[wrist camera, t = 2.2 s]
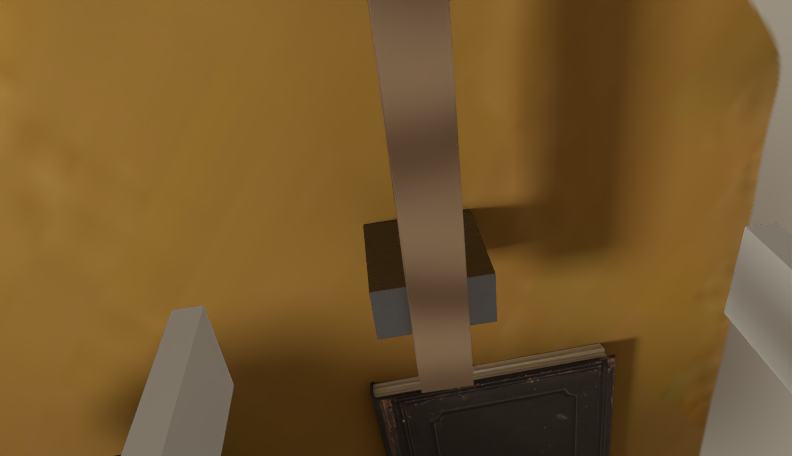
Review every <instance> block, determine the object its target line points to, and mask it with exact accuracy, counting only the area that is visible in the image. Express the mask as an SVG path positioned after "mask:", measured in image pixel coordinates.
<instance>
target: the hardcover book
mask: <svg viewBox="0 0 792 456" xmlns="http://www.w3.org/2000/svg"><path fill="white" fill-rule="evenodd" d="M615 368H616V356H615V354H614V355H609V356H606V354H605V349H604V347H602V346H601V343H598V344H593V345H587V346H582V347H576V348H571V349H565V350H560V351H554V352H549V353H543V354H538V355H532V356H527V357H521V358H516V359H510V360H505V361H499V362H494V363H488V364H482V365H477V366H473V381H474V385H472V386H465V387H459V388H452V389H446V390H439V391H433V392H426V393H422V391H421V385H420V379H419V376H416V377H411V378H405V379H400V380H394V381H389V382H383V383H378V384H374V383H373V382H371V384H370V391H371V396H372V400H373V404H374V408H375V412H376V416H377V420H378V424H379V428H380V431H381V435H382V439H383V443H384V447H385V451H386V455H387V456H610V443H611V428H612V413H613V398H614V383H615Z"/></svg>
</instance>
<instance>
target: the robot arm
mask: <svg viewBox="0 0 792 456" xmlns="http://www.w3.org/2000/svg"><path fill="white" fill-rule="evenodd" d="M724 313H725V315H726V316H727V317H728V318H729V319H730V321H731V322H732V323H733V324H734V325H735V327H736V328H737V329H738V330H739V331H740V333H741V334H742V335H743V336H744V337H745V338H746V340H747V341H748V342H749V343H750V345H751V346H752V347H753V348H754V349H755V351H757V353H758V354H759V355H760V356H761V358H762V359H763V360H764V361H765V363H766V364H767V365H768V366H769V367H770V369H771V370H772V371H773V372H774V373H775V375H776V376H777V377H778V378H779V379H780V380H781V382H782V383H783V384H784V385H785V386H786V388H787V389H788V390H789V391H790V392H791V394H792V235H791V234H790V233H789V232H788V231H787V230H785V229H784V228H783V227H782V226H781V225H780V224H778V223H777V222H774V223H767V224H760V225H753V226H746V227H745V230H744V234H743V238H742V242H741V246H740V250H739V254H738V258H737V263H736V267H735V271H734V275H733V279H732V283H731V287H730V291H729V295H728V299H727V303H726V307H725V311H724ZM233 388H234V384H233V381H232V378H231V376H230V373H229V371H228V368H227V365H226V363H225V360H224V358H223V355H222V352H221V350H220V347H219V344H218V342H217V339H216V337H215V334H214V331H213V329H212V326H211V324H210V321H209V318H208V316H207V313H206V310H205V308H204V306H198V307H191V308H184V309H177V310H172V311H171V314H170V317H169V319H168V322H167V325H166V328H165V331H164V334H163V337H162V339H161V342H160V345H159V348H158V351H157V354H156V357H155V360H154V362H153V365H152V368H151V371H150V374H149V377H148V380H147V382H146V385H145V388H144V391H143V394H142V397H141V400H140V402H139V405H138V408H137V411H136V414H135V417H134V420H133V422H132V425H131V428H130V431H129V434H128V437H127V440H126V442H125V445H124V448H123V451H122V454H121V455H116V456H221V453H222V447H223V442H224V436H225V431H226V426H227V420H228V415H229V410H230V404H231V399H232V393H233Z"/></svg>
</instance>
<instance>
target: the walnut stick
mask: <svg viewBox="0 0 792 456" xmlns="http://www.w3.org/2000/svg"><path fill="white" fill-rule="evenodd" d="M367 1H368V8H369V16H370V23H371V30H372V38H373V45H374V53H375V60H376V67H377V75H378V82H379V90H380V97H381V104H382V112H383V119H384V127H385V134H386V141H387V149H388V156H389V164H390V171H391V178H392V186H393V193H394V200H395V208H396V215H397V223H398V230H399V237H400V245H401V252H402V260H403V267H404V274H405V282H406V289H407V297H408V304H409V311H410V319H411V326H412V334H413V341H414V348H415V356H416V362H417V367H418V373H419V379H420V385H421V391H422V393H426V392H433V391H439V390H446V389H452V388H459V387H465V386H472V385H474V381H473V365H472V350H471V334H470V319H469V303H468V287H467V272H466V256H465V240H464V225H463V209H462V194H461V178H460V162H459V147H458V131H457V115H456V100H455V84H454V69H453V53H452V37H451V22H450V6H449V0H367Z"/></svg>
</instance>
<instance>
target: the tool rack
mask: <svg viewBox="0 0 792 456" xmlns="http://www.w3.org/2000/svg"><path fill="white" fill-rule="evenodd" d="M463 225H464V240H465V256H466V272H467V287H468V303H469V319H470V325H475V324H482V323H488V322H495V321H497V308H496V276H495V271H494V269H493V266H492V264H491V261H490V258H489V256H488V253H487V251H486V248H485V246H484V243H483V241H482V238H481V235H480V233H479V230H478V228H477V225H476V223H475V220H474V218H473V215H472V212H471V210H470V209H467V210H463ZM363 228H364V239H365V250H366V261H367V272H368V283H369V293H370V299H371V305H372V310H373V316H374V321H375V327H376V333H377V338H378V339H383V338H390V337H396V336H403V335H409V334H412V326H411V319H410V311H409V304H408V297H407V289H406V282H405V274H404V267H403V260H402V252H401V245H400V237H399V230H398V223H397V220H393V221H386V222H380V223H373V224H366V225H363Z"/></svg>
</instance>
